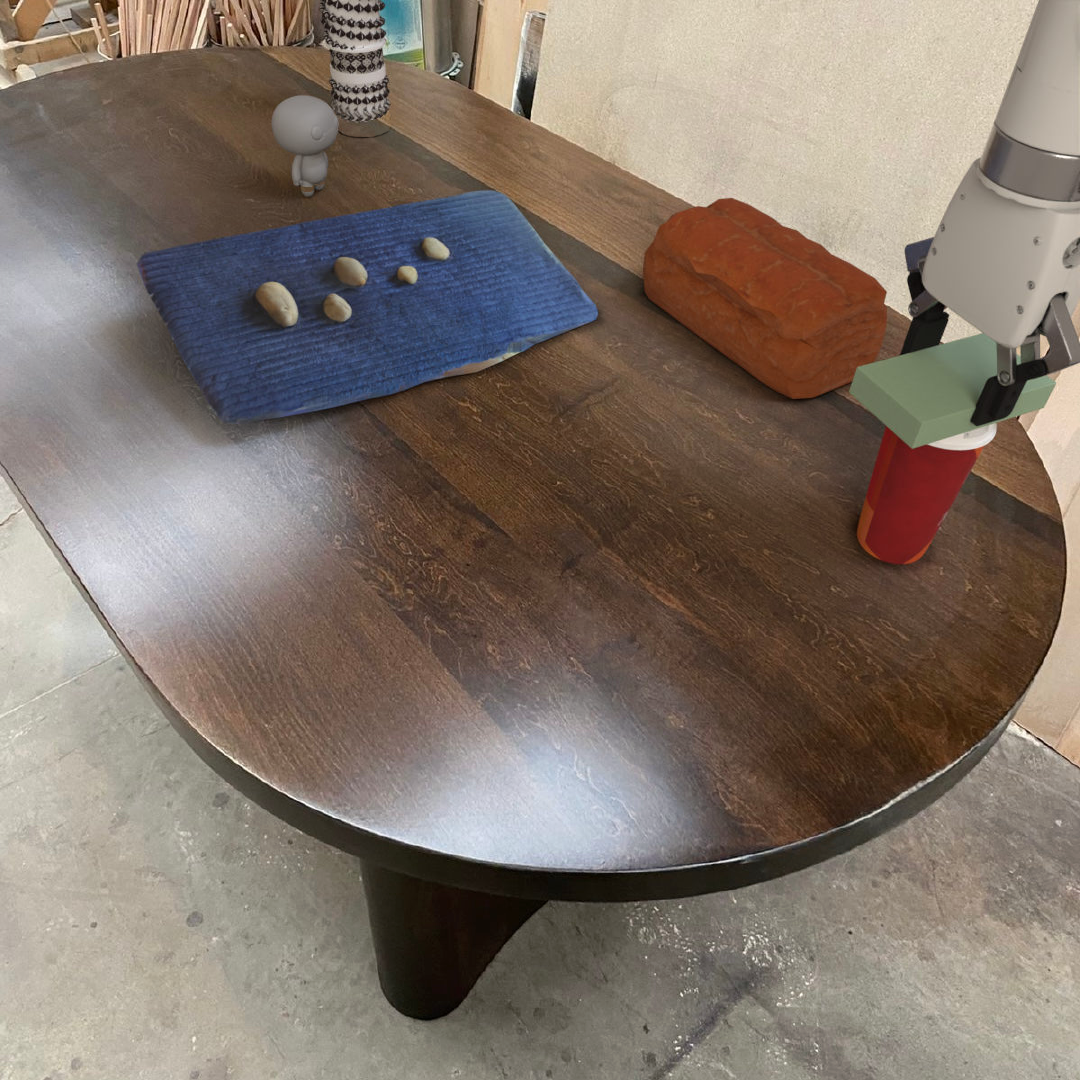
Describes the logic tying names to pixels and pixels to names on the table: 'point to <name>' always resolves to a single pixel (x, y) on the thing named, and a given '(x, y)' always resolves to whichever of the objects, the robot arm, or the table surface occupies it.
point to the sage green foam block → (938, 389)
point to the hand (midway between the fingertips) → (950, 388)
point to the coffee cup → (915, 492)
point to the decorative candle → (356, 58)
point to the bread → (766, 297)
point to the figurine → (306, 137)
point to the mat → (360, 303)
